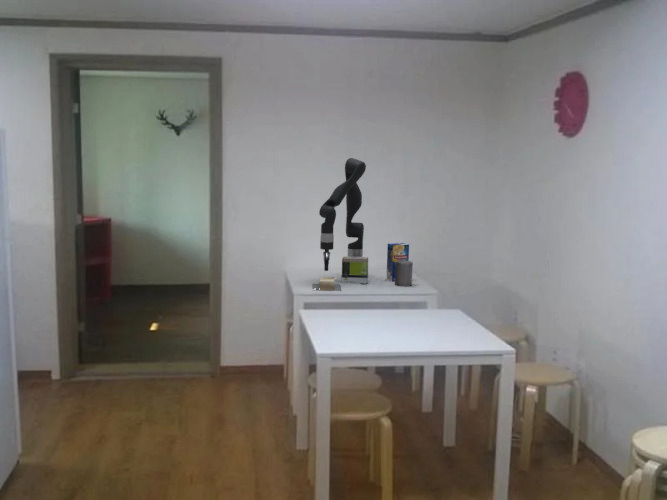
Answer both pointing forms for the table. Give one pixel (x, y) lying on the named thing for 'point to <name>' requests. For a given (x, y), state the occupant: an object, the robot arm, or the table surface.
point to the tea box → (355, 270)
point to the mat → (336, 288)
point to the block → (326, 283)
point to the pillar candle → (403, 273)
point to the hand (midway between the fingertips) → (326, 270)
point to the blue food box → (395, 258)
